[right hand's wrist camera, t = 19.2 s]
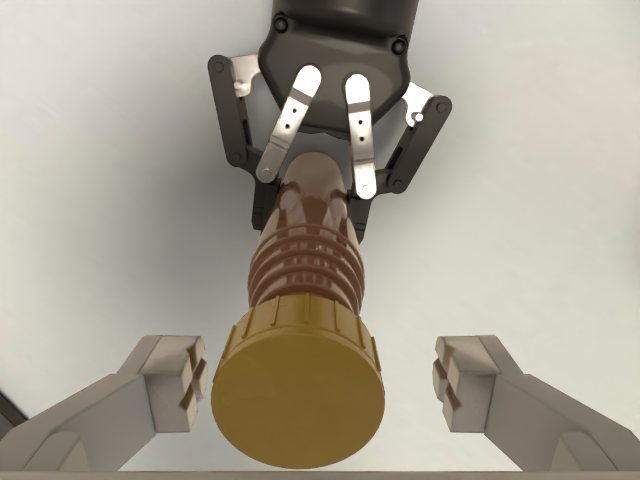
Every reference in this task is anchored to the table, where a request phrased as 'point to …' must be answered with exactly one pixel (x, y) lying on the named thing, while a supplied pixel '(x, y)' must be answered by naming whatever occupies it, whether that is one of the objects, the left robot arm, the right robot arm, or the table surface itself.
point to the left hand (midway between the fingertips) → (306, 240)
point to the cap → (299, 383)
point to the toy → (8, 417)
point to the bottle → (309, 239)
